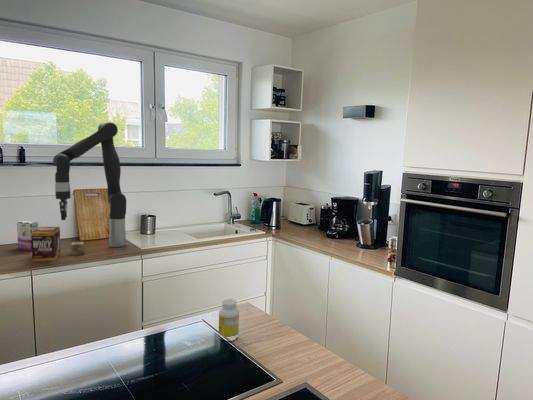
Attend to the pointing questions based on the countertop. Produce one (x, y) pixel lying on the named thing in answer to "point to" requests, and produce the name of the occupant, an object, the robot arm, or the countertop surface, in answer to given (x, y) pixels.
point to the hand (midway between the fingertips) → (64, 218)
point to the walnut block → (77, 248)
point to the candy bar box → (25, 234)
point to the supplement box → (45, 243)
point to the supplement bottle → (228, 318)
